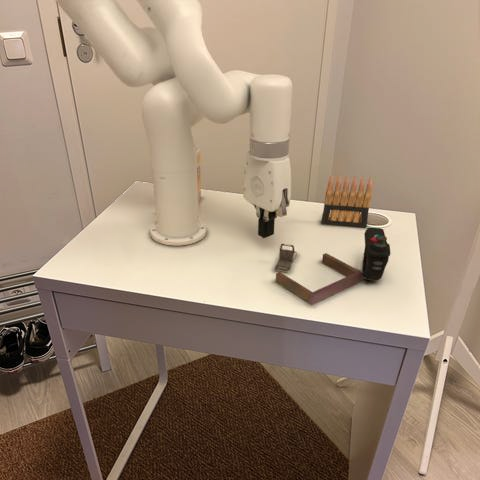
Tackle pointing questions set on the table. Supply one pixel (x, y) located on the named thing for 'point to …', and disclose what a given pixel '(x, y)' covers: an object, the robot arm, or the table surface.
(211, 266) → the table surface
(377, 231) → the controller
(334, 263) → the frame
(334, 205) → the ammunition clip
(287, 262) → the strap clip
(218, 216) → the table surface
